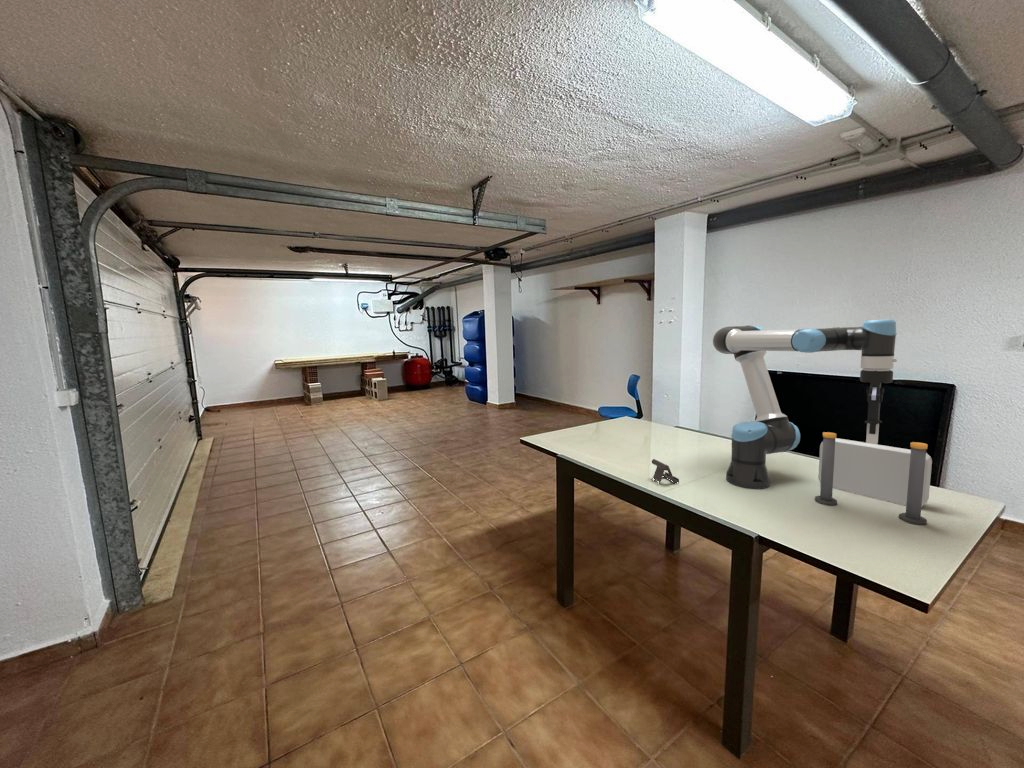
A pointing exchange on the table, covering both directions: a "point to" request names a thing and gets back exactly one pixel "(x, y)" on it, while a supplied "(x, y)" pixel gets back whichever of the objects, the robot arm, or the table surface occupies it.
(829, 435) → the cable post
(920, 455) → the cable post
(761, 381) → the robot arm
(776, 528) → the table surface
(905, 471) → the rounded white slab
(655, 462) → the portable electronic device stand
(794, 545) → the table surface
